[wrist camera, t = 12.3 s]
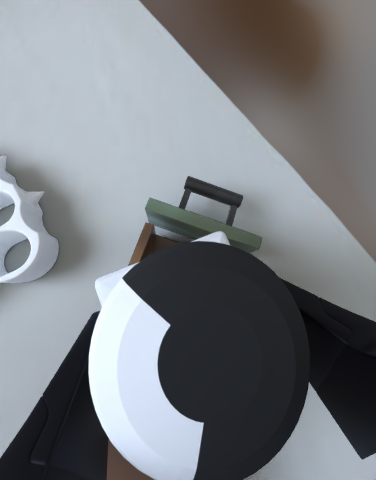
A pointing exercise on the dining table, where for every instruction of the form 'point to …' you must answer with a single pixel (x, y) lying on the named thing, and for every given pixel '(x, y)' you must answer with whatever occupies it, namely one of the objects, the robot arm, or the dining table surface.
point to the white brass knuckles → (24, 231)
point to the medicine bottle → (198, 362)
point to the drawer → (191, 221)
